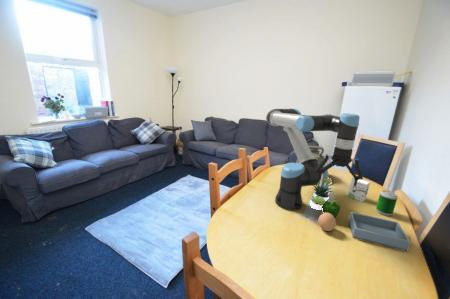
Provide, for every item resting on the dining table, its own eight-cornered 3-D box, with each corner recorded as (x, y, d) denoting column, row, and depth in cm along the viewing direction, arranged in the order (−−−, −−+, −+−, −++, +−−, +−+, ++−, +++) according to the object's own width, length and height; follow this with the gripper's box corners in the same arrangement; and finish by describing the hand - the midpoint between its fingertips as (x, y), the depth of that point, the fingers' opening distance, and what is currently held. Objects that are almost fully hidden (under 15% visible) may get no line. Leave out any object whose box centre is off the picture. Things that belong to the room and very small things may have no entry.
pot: (320, 182, 148) (325, 149, 141) (291, 175, 159) (295, 143, 152) (324, 173, 165) (330, 143, 158) (298, 167, 175) (302, 138, 168)
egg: (336, 235, 94) (339, 219, 92) (319, 233, 96) (322, 217, 93) (331, 225, 101) (334, 210, 99) (315, 223, 102) (318, 208, 100)
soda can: (395, 217, 109) (401, 197, 106) (379, 215, 111) (385, 195, 107) (387, 209, 116) (393, 190, 113) (372, 208, 118) (377, 188, 114)
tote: (352, 237, 93) (355, 228, 92) (348, 219, 106) (350, 211, 105) (407, 251, 86) (410, 242, 85) (395, 230, 99) (398, 222, 97)
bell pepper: (320, 220, 105) (323, 202, 102) (319, 211, 113) (322, 195, 110) (338, 224, 102) (342, 206, 99) (337, 215, 110) (340, 198, 107)
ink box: (347, 196, 130) (351, 179, 126) (350, 194, 133) (354, 177, 129) (363, 202, 123) (367, 184, 120) (366, 199, 126) (370, 182, 123)
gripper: (315, 145, 98) (308, 186, 104) (377, 153, 89) (366, 197, 95) (314, 142, 104) (308, 180, 111) (372, 148, 96) (362, 190, 102)
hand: (335, 188), depth 103 cm, fingers open, 13 cm apart
